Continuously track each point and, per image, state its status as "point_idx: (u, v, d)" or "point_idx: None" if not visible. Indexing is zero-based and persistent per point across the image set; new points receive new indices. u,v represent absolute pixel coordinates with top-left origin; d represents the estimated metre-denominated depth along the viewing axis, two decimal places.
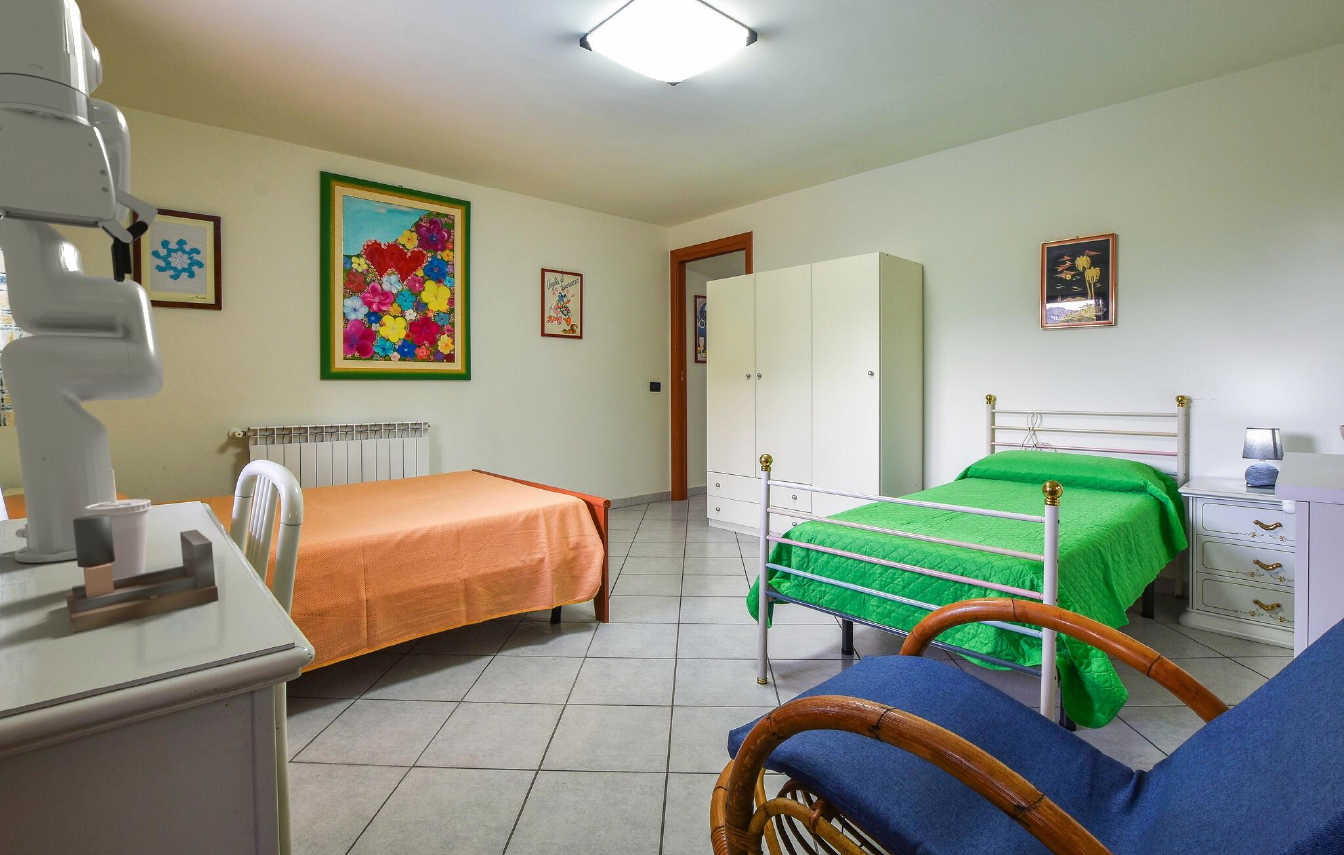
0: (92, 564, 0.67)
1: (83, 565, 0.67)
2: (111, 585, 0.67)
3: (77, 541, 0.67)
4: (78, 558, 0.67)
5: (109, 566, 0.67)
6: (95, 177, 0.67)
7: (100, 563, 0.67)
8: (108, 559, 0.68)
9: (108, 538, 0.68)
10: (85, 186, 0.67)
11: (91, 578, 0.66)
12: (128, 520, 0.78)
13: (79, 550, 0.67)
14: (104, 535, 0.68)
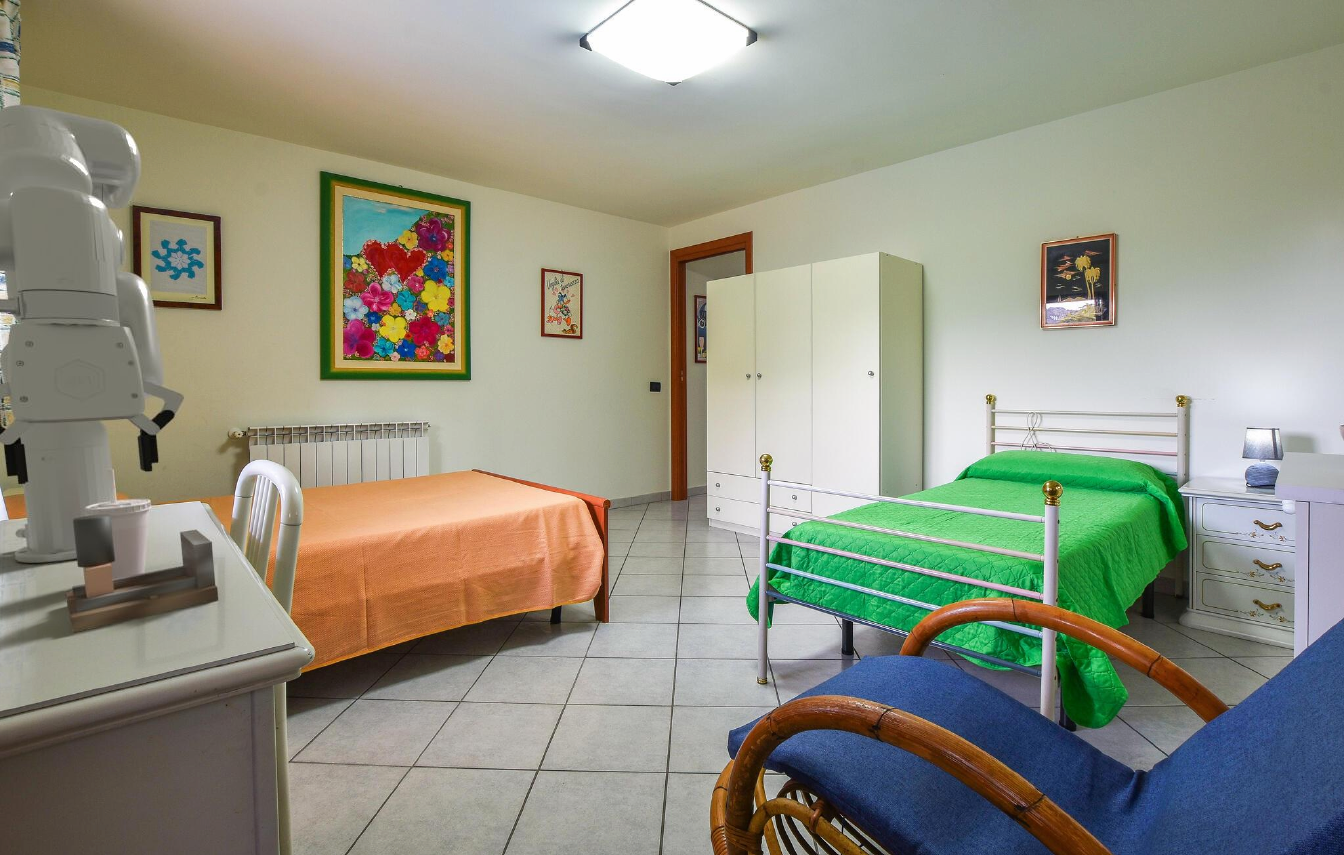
0: (92, 564, 0.67)
1: (83, 565, 0.67)
2: (111, 585, 0.67)
3: (77, 541, 0.67)
4: (78, 558, 0.67)
5: (109, 566, 0.67)
6: None
7: (100, 563, 0.67)
8: (108, 559, 0.68)
9: (108, 538, 0.68)
10: None
11: (91, 578, 0.66)
12: (128, 520, 0.78)
13: (79, 550, 0.67)
14: (104, 535, 0.68)
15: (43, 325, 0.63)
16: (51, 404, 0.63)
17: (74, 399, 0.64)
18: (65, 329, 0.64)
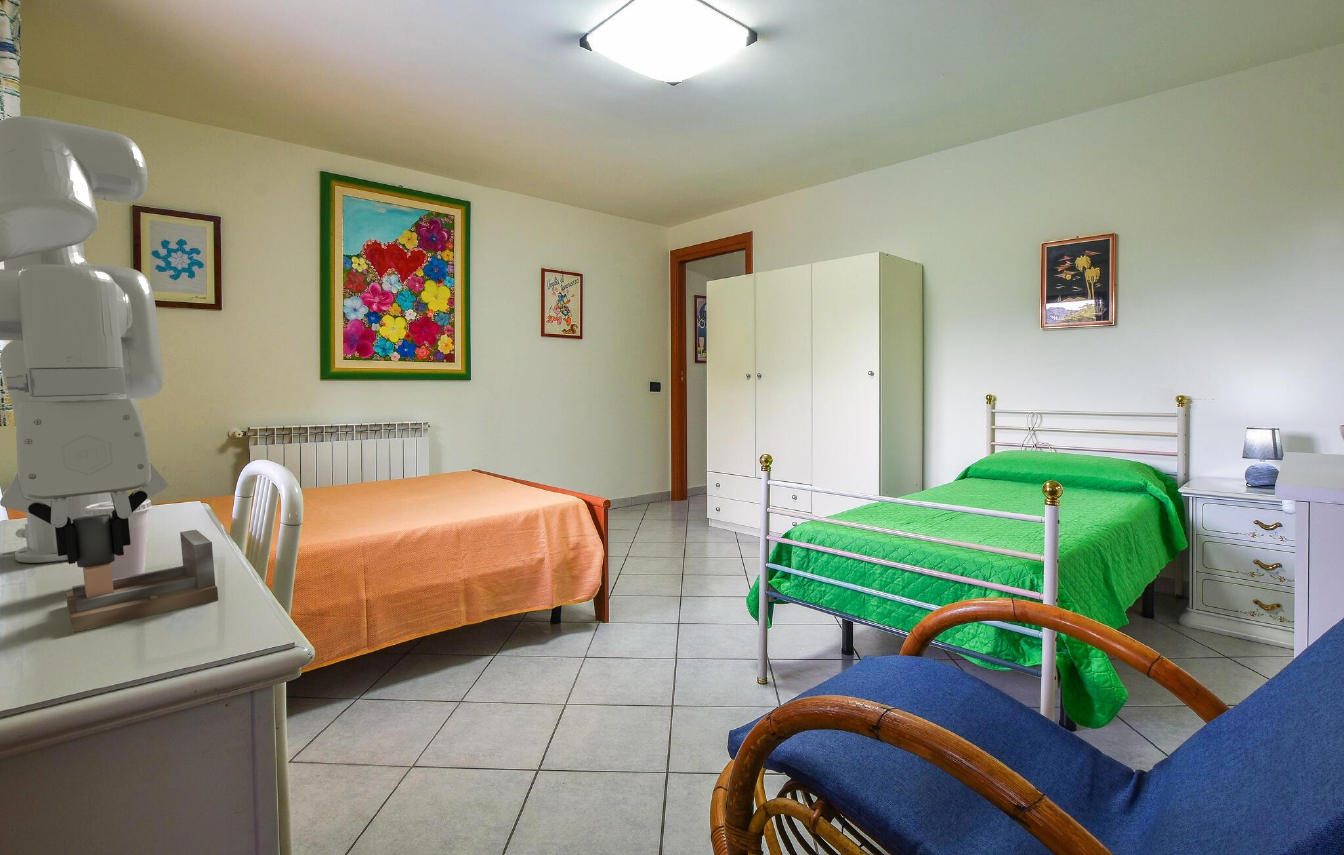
0: (92, 564, 0.67)
1: (83, 565, 0.67)
2: (111, 585, 0.67)
3: (76, 541, 0.67)
4: (78, 559, 0.67)
5: (109, 566, 0.67)
6: None
7: (100, 563, 0.67)
8: (108, 559, 0.68)
9: (108, 538, 0.68)
10: None
11: (91, 578, 0.66)
12: (128, 520, 0.78)
13: (79, 550, 0.67)
14: (104, 535, 0.68)
15: (51, 402, 0.63)
16: (59, 480, 0.64)
17: (81, 474, 0.65)
18: (73, 405, 0.64)
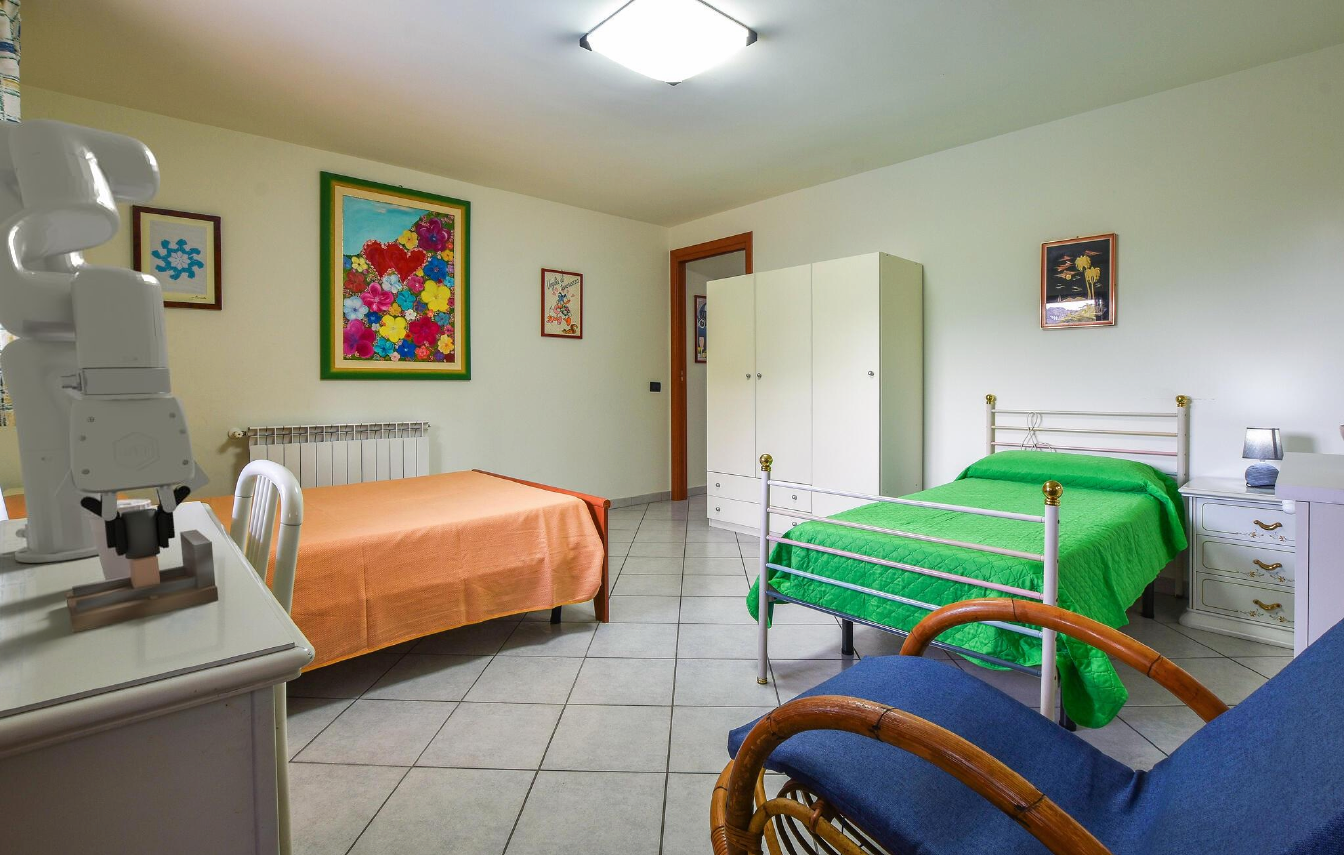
0: (139, 556, 0.70)
1: (131, 557, 0.69)
2: (157, 576, 0.70)
3: (125, 534, 0.69)
4: None
5: (156, 558, 0.70)
6: None
7: (147, 555, 0.70)
8: (154, 551, 0.71)
9: (154, 531, 0.71)
10: None
11: (139, 569, 0.69)
12: None
13: (127, 542, 0.69)
14: (150, 528, 0.70)
15: (103, 400, 0.66)
16: (110, 475, 0.67)
17: (131, 469, 0.68)
18: (123, 403, 0.67)
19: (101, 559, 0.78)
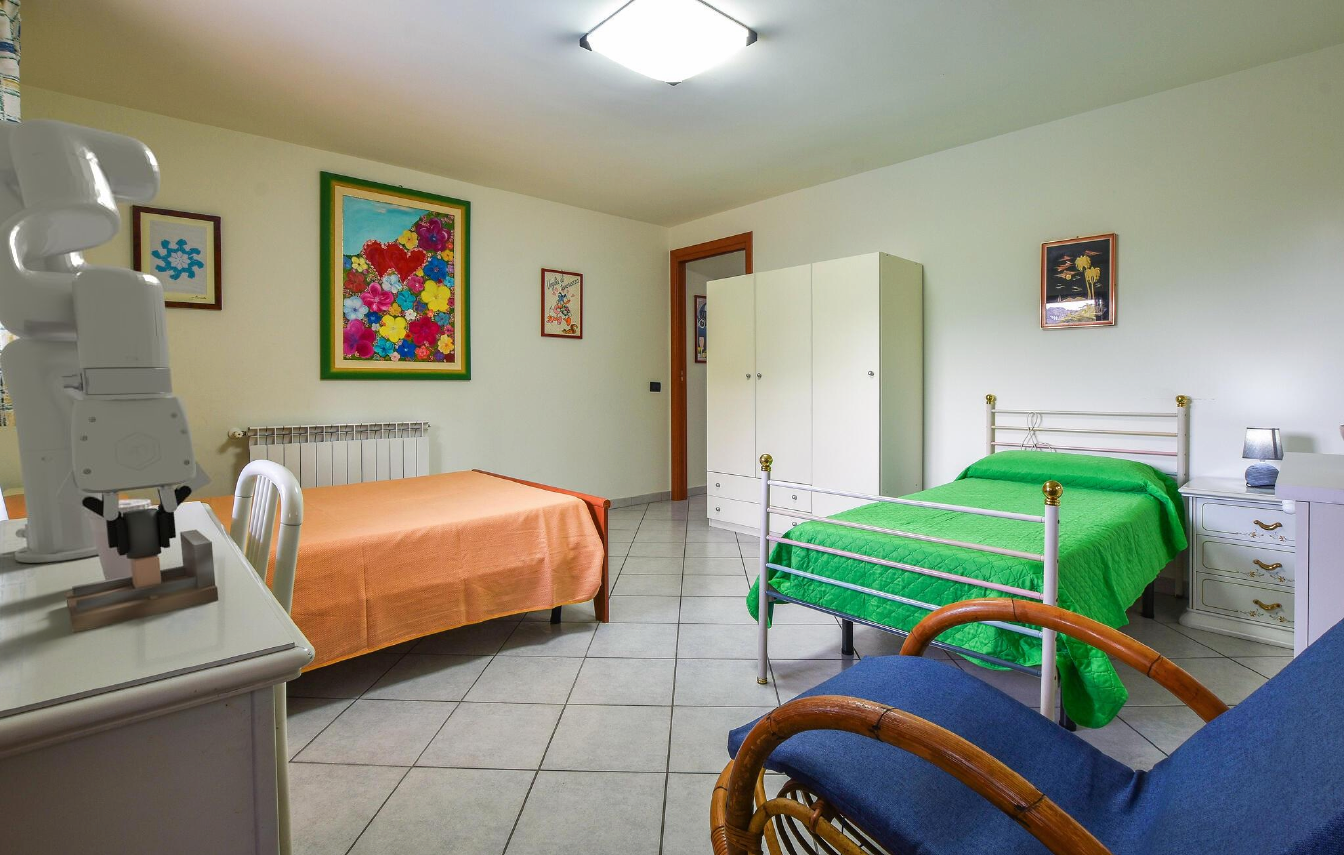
0: (141, 556, 0.70)
1: (132, 557, 0.70)
2: (159, 576, 0.70)
3: None
4: (128, 550, 0.70)
5: (157, 558, 0.70)
6: None
7: (148, 555, 0.70)
8: (155, 551, 0.71)
9: (155, 531, 0.71)
10: None
11: (140, 569, 0.69)
12: None
13: (128, 542, 0.69)
14: (152, 528, 0.70)
15: (104, 400, 0.66)
16: (111, 475, 0.67)
17: (132, 469, 0.68)
18: (124, 403, 0.67)
19: (101, 559, 0.78)
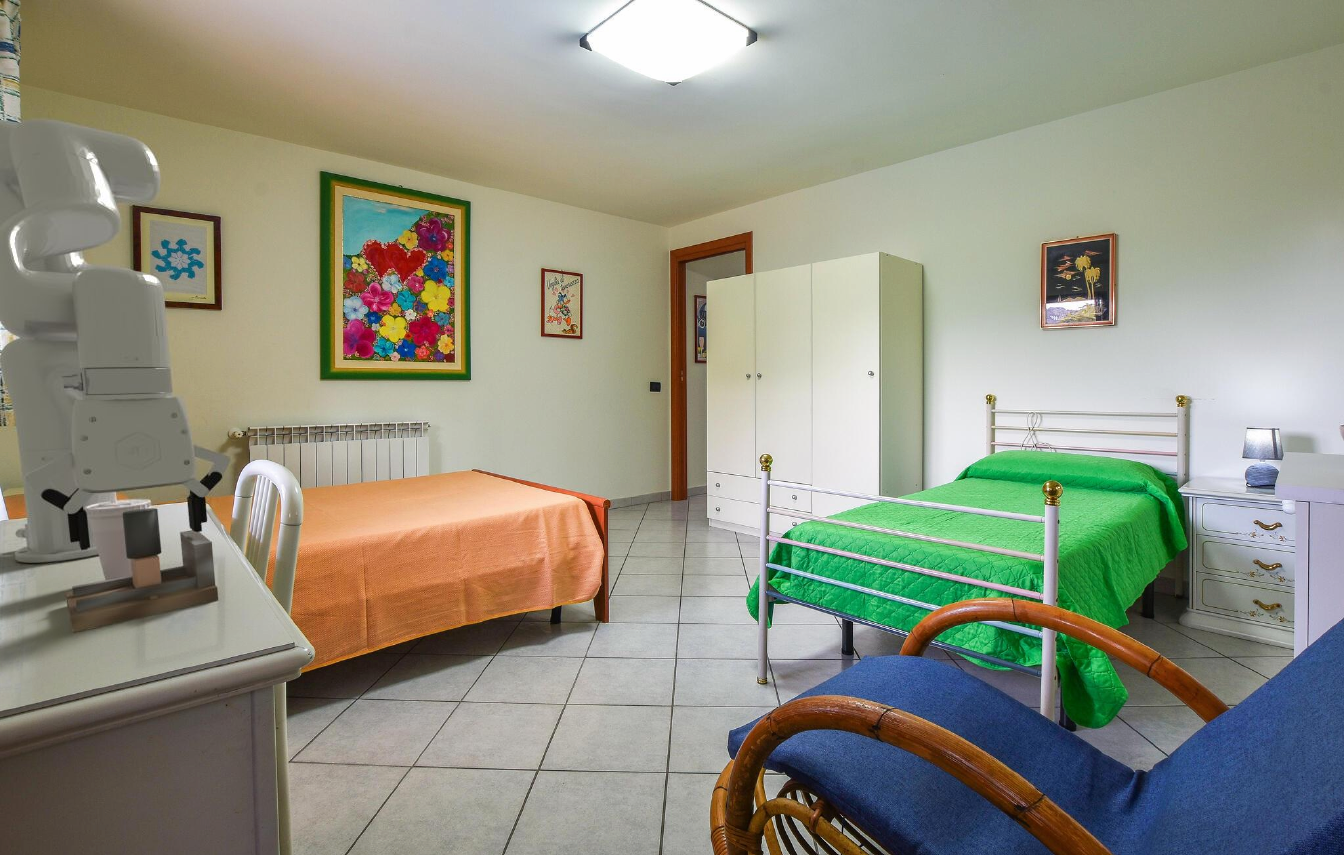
0: (141, 556, 0.70)
1: (132, 557, 0.70)
2: (159, 576, 0.70)
3: (126, 534, 0.69)
4: (128, 550, 0.70)
5: (157, 558, 0.70)
6: None
7: (148, 555, 0.70)
8: (155, 551, 0.71)
9: (155, 531, 0.71)
10: None
11: (140, 569, 0.69)
12: None
13: (128, 542, 0.69)
14: (152, 528, 0.70)
15: (105, 400, 0.66)
16: (112, 475, 0.67)
17: (132, 469, 0.68)
18: (124, 403, 0.67)
19: (101, 559, 0.78)
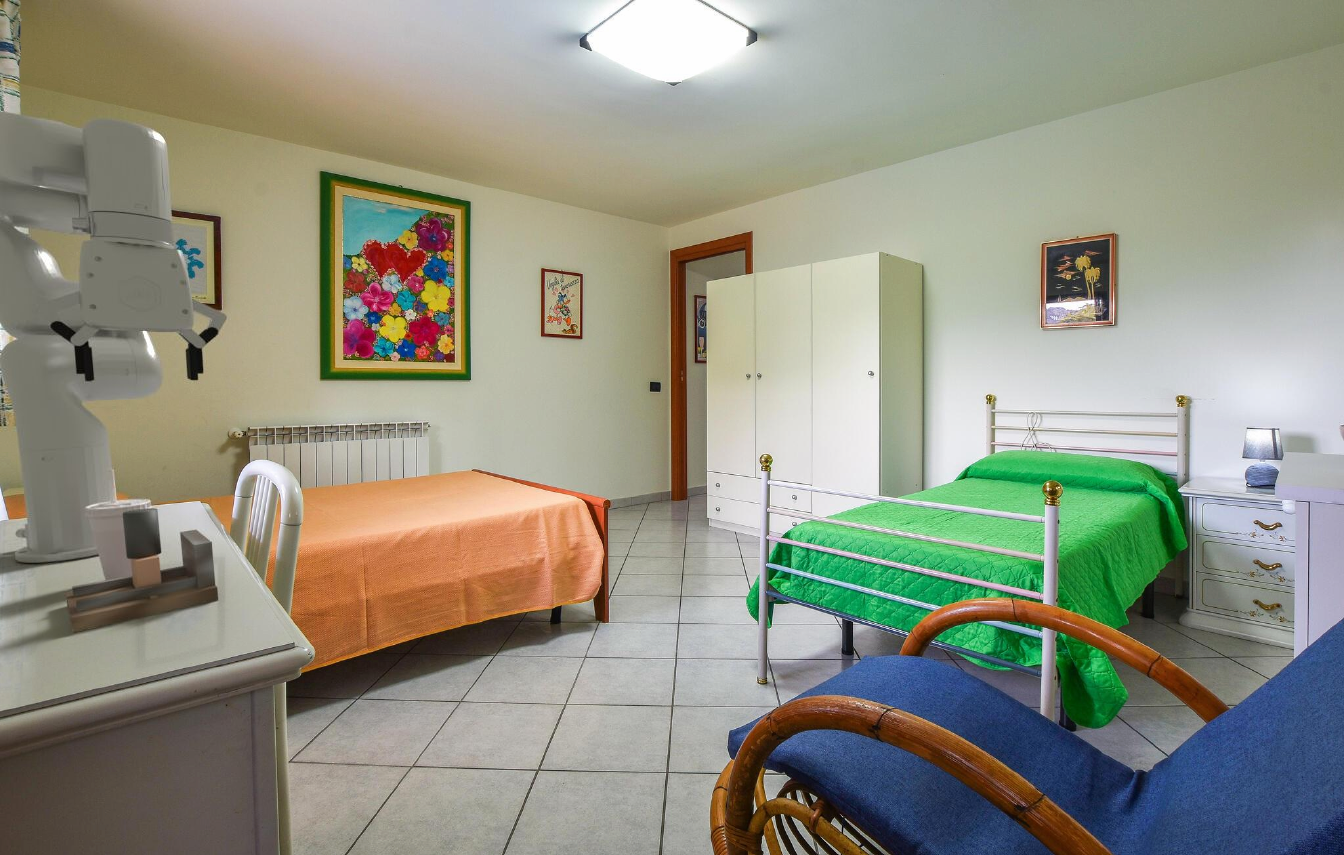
0: (141, 556, 0.70)
1: (132, 557, 0.70)
2: (159, 576, 0.70)
3: (126, 534, 0.69)
4: (128, 550, 0.70)
5: (157, 558, 0.70)
6: None
7: (148, 555, 0.70)
8: (155, 551, 0.71)
9: (155, 531, 0.71)
10: None
11: (140, 569, 0.69)
12: None
13: (128, 542, 0.69)
14: (152, 528, 0.70)
15: (110, 243, 0.71)
16: (115, 313, 0.72)
17: (134, 311, 0.73)
18: (128, 248, 0.72)
19: (101, 559, 0.78)
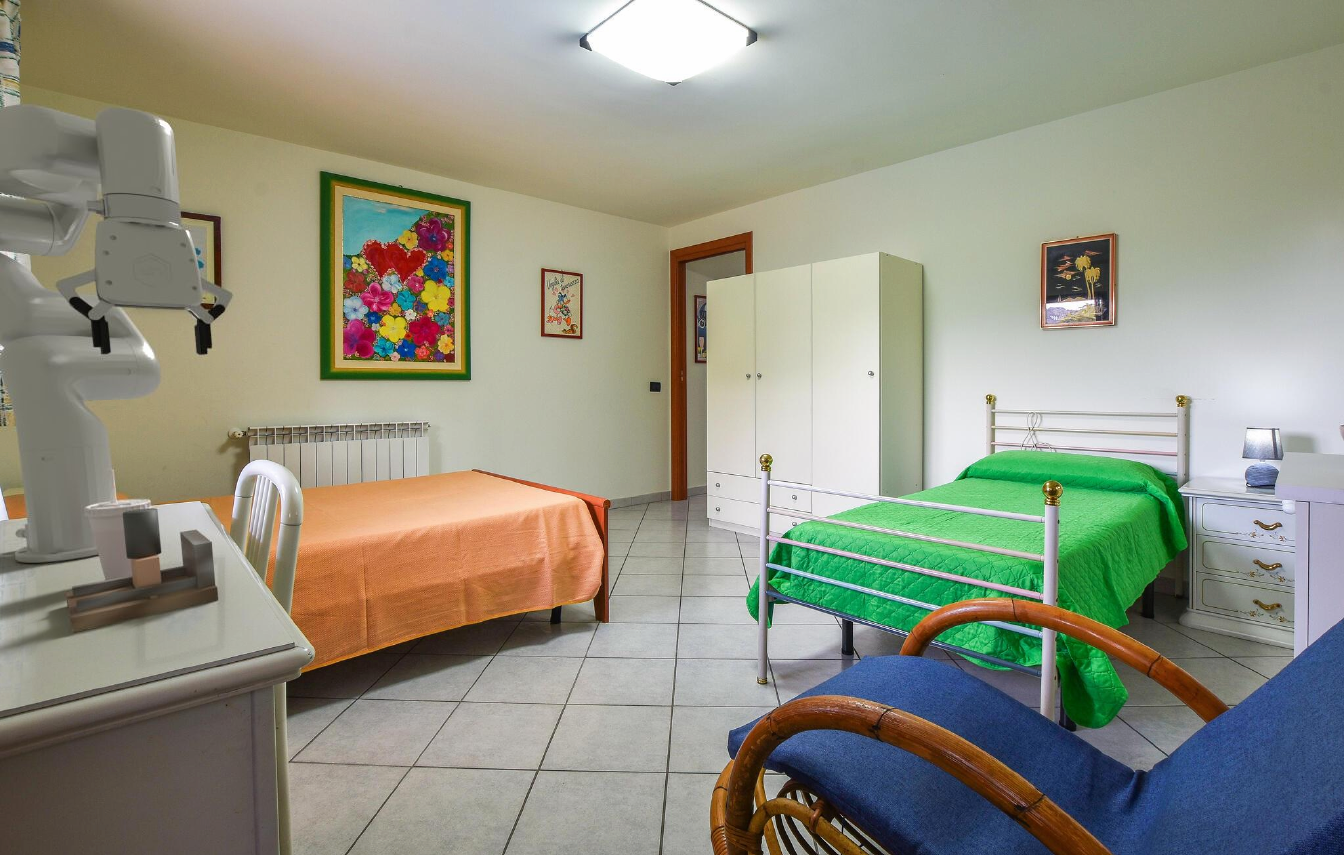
0: (141, 556, 0.70)
1: (132, 557, 0.70)
2: (159, 576, 0.70)
3: (126, 534, 0.69)
4: (128, 550, 0.70)
5: (157, 558, 0.70)
6: None
7: (148, 555, 0.70)
8: (155, 551, 0.71)
9: (155, 531, 0.71)
10: None
11: (140, 569, 0.69)
12: None
13: (128, 542, 0.69)
14: (152, 528, 0.70)
15: (124, 223, 0.76)
16: (129, 289, 0.77)
17: (147, 287, 0.78)
18: (140, 228, 0.77)
19: (101, 559, 0.78)
